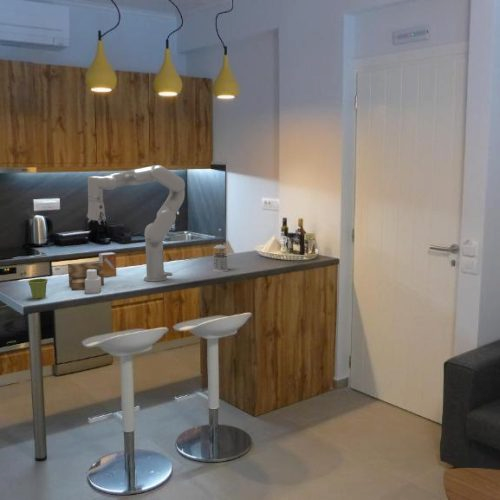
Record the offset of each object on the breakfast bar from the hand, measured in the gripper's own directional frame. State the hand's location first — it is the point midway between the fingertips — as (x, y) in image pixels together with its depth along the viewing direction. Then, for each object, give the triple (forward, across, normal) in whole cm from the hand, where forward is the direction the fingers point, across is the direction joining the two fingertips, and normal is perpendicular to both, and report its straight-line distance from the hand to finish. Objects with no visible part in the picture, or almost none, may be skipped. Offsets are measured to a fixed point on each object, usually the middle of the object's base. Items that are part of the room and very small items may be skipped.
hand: (96, 230), depth 333 cm
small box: (+29, +14, -15) cm, 35 cm away
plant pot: (+30, -6, +38) cm, 48 cm away
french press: (+28, -24, -70) cm, 79 cm away
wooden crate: (+29, -4, +10) cm, 31 cm away
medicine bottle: (+29, -16, +13) cm, 35 cm away
